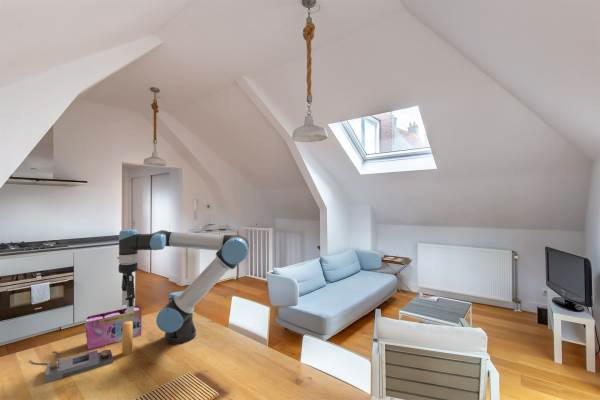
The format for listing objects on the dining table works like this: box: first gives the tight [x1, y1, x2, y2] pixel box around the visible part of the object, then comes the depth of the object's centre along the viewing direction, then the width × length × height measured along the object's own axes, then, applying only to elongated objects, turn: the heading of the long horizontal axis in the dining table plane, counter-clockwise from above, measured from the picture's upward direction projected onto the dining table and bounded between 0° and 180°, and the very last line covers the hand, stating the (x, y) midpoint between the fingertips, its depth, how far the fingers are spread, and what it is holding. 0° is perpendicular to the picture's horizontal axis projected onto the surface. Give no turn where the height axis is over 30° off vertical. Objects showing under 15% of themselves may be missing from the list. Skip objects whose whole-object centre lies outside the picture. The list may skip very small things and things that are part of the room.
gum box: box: [83, 305, 143, 351], centre depth 143 cm, size 24×8×14 cm, turn 133°
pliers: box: [29, 350, 61, 366], centre depth 124 cm, size 10×1×20 cm
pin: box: [121, 321, 133, 356], centre depth 130 cm, size 4×4×14 cm
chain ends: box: [44, 349, 114, 384], centre depth 120 cm, size 22×10×5 cm, turn 129°
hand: (127, 308), depth 131 cm, fingers open, 13 cm apart
